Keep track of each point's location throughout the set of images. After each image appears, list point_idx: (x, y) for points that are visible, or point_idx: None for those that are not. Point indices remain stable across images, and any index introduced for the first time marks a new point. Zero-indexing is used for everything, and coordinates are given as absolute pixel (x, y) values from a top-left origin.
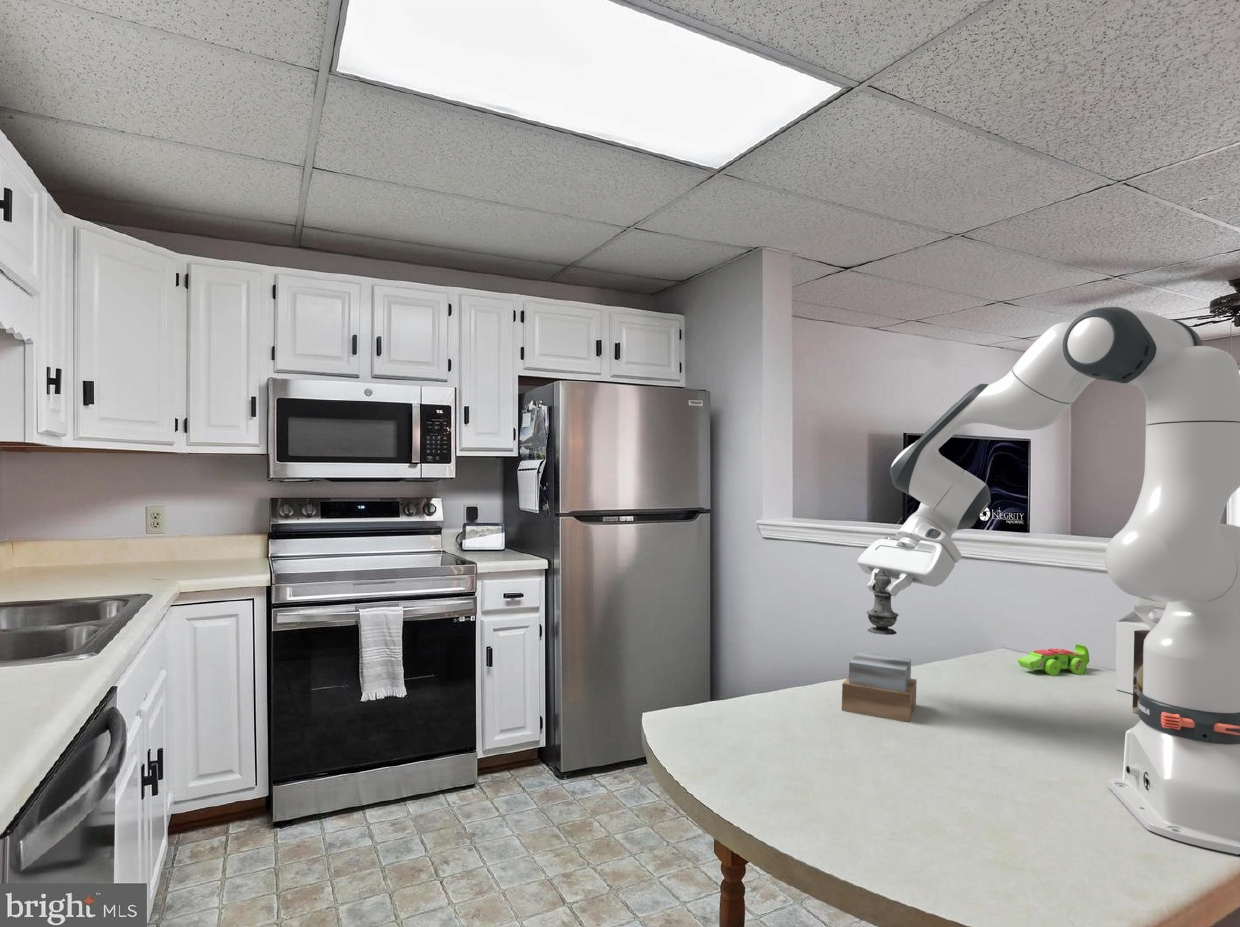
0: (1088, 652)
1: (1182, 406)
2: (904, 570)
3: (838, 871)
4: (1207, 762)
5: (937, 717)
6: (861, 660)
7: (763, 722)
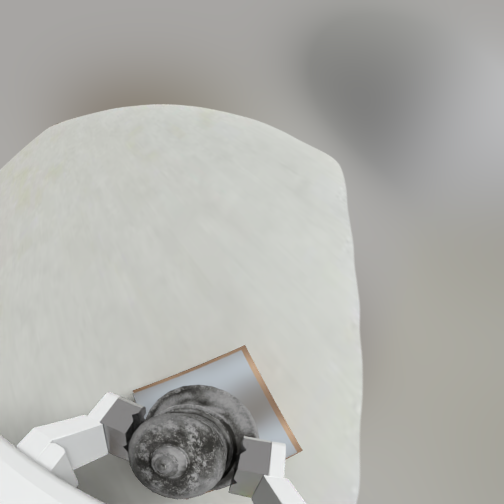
0: None
1: None
2: (13, 447)
3: (89, 115)
4: None
5: None
6: (238, 390)
7: (264, 222)
